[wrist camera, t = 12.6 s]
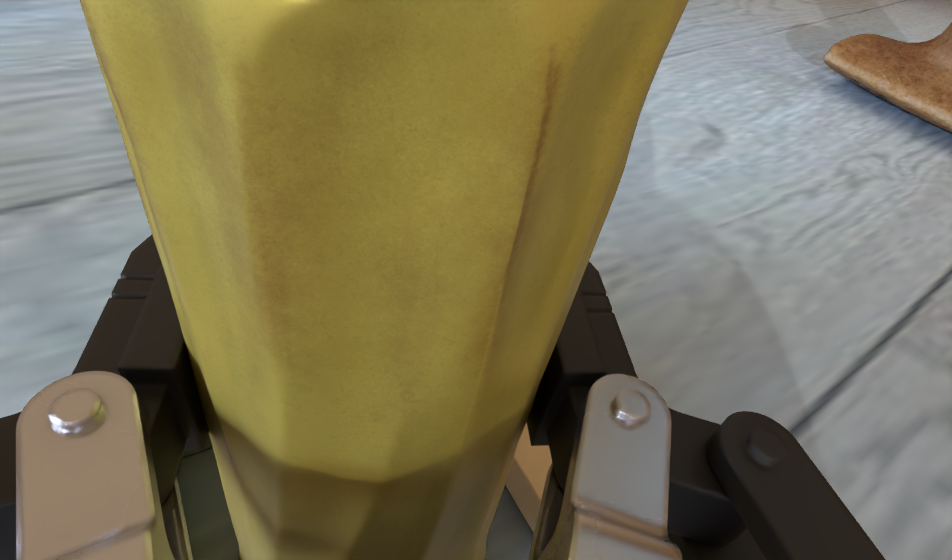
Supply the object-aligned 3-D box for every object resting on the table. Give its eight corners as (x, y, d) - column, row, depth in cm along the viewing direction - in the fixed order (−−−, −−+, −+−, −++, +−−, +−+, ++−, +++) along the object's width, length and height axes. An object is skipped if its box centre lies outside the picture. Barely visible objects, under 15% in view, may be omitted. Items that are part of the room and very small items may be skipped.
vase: (219, 474, 15) (-39, -257, 5) (426, 399, 18) (523, -176, 8) (278, 734, 11) (-192, -8, 2) (527, 591, 14) (945, -14, 4)
